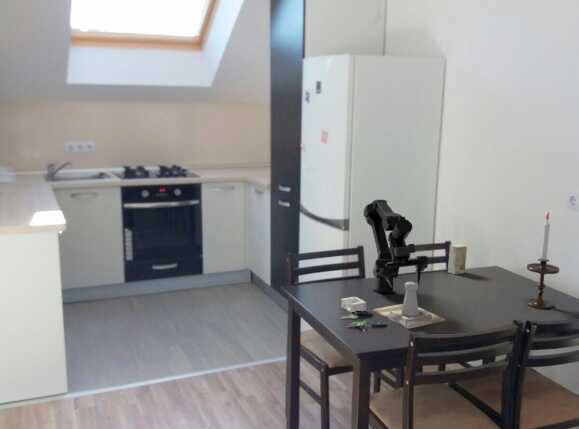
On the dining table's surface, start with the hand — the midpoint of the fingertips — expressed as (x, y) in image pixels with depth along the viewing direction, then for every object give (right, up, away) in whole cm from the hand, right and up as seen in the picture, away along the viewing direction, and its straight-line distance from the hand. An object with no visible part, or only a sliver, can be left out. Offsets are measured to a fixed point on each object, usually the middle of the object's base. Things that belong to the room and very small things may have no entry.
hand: (405, 286), depth 207 cm
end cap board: (+1, -10, -1) cm, 10 cm away
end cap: (-18, -9, +6) cm, 20 cm away
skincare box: (+33, -1, +53) cm, 62 cm away
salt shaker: (0, -11, -6) cm, 12 cm away
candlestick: (+52, -9, +12) cm, 54 cm away
